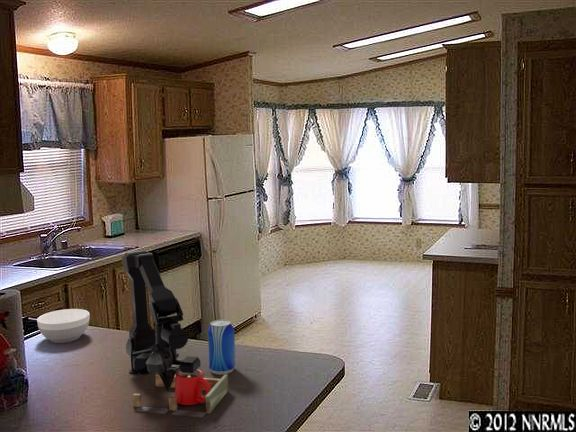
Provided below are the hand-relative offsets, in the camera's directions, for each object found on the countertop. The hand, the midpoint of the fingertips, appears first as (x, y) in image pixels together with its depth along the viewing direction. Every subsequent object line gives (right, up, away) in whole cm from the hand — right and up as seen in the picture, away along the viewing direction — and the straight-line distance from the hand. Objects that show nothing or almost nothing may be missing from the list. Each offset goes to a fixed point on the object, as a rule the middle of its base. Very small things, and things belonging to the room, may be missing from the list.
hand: (168, 390), depth 175 cm
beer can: (+14, +1, +19) cm, 24 cm away
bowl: (-50, +4, +55) cm, 75 cm away
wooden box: (+4, -2, -1) cm, 5 cm away
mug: (+8, -2, -3) cm, 9 cm away
